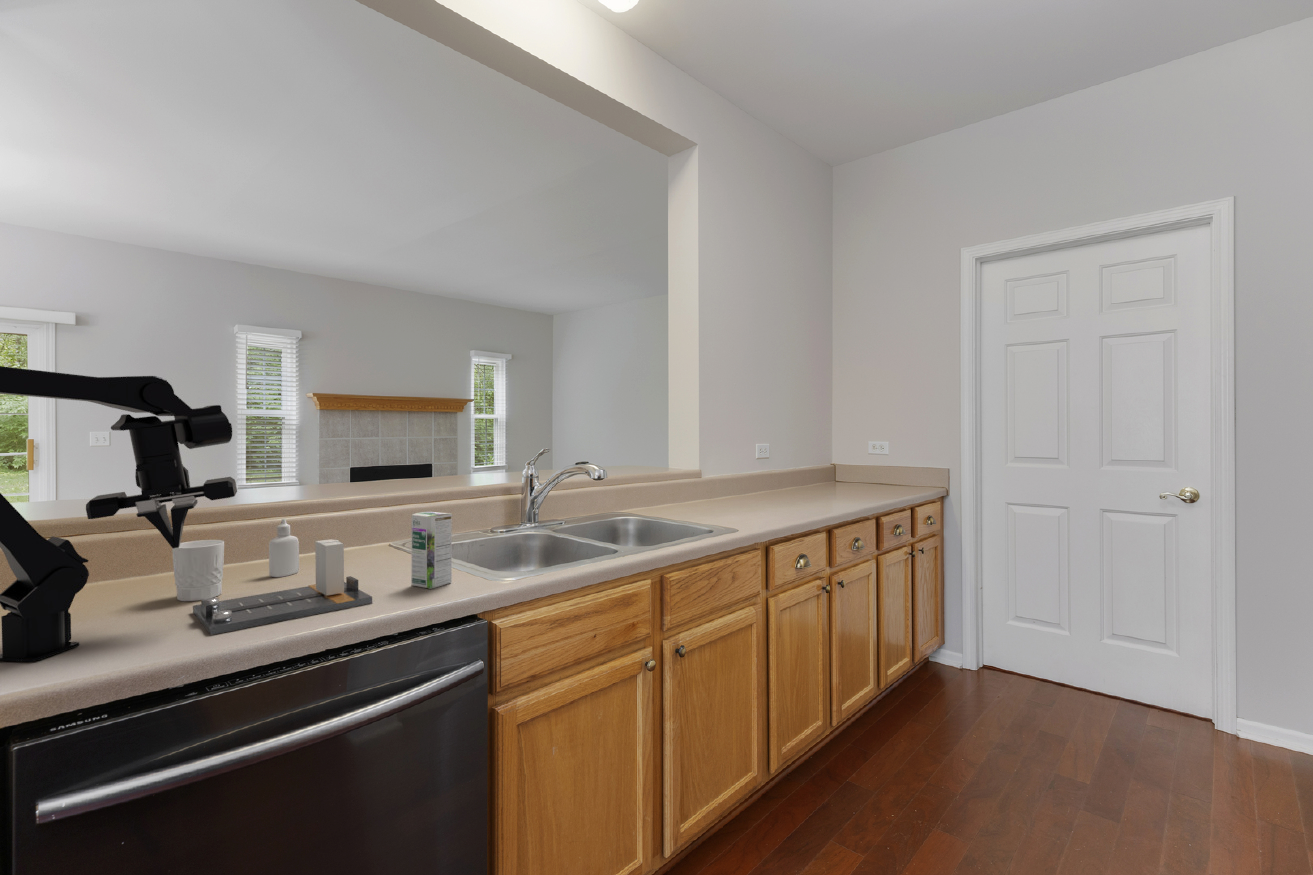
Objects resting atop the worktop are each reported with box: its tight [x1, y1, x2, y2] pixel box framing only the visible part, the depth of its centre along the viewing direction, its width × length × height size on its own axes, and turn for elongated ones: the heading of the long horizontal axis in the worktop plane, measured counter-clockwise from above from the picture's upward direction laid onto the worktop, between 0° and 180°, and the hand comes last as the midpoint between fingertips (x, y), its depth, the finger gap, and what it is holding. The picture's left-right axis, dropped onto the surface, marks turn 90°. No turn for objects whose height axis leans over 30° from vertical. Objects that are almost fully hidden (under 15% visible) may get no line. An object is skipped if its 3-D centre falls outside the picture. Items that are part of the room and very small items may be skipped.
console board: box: [192, 576, 373, 636], centre depth 109 cm, size 24×16×3 cm
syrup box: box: [410, 511, 453, 590], centre depth 125 cm, size 6×6×14 cm
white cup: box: [171, 539, 225, 602], centre depth 116 cm, size 8×8×10 cm
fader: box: [314, 538, 345, 596], centre depth 114 cm, size 3×6×9 cm, turn 45°
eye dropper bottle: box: [268, 518, 300, 578], centre depth 133 cm, size 4×6×12 cm
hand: (176, 547), depth 102 cm, fingers closed
